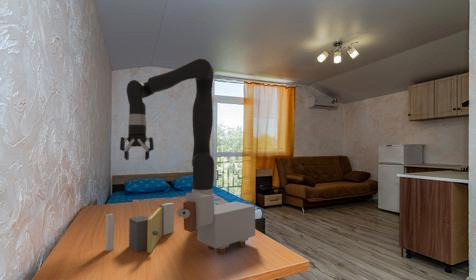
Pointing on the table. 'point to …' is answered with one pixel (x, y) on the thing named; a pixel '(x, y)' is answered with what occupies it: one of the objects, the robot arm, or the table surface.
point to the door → (154, 229)
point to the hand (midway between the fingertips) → (136, 159)
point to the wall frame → (166, 224)
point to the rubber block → (138, 233)
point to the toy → (218, 221)
